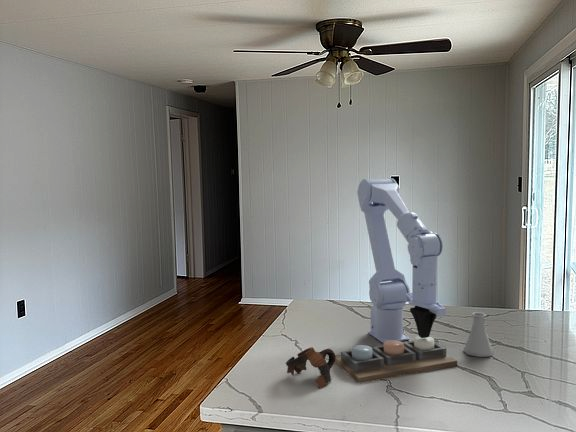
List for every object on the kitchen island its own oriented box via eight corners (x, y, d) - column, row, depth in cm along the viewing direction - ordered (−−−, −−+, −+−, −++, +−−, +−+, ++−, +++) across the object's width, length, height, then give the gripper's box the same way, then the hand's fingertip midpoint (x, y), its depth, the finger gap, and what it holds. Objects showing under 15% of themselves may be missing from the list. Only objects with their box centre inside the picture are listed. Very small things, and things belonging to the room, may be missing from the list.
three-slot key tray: (332, 360, 128) (332, 347, 128) (423, 345, 137) (423, 334, 136) (358, 383, 115) (358, 369, 115) (457, 365, 124) (457, 352, 123)
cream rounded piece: (410, 349, 130) (410, 337, 130) (426, 346, 132) (427, 334, 131) (421, 356, 126) (421, 343, 125) (438, 353, 127) (438, 340, 127)
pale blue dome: (348, 359, 125) (348, 346, 124) (366, 356, 126) (366, 343, 126) (357, 367, 120) (357, 353, 120) (376, 363, 122) (375, 350, 121)
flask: (495, 358, 127) (496, 319, 126) (464, 357, 129) (465, 317, 128) (490, 348, 134) (491, 310, 133) (461, 346, 136) (462, 309, 135)
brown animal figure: (312, 396, 111) (293, 361, 112) (292, 399, 118) (275, 366, 119) (351, 368, 117) (333, 335, 118) (330, 372, 125) (313, 342, 126)
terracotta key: (380, 354, 127) (380, 341, 127) (397, 351, 129) (397, 339, 128) (390, 361, 123) (390, 348, 122) (407, 358, 124) (407, 345, 124)
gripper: (394, 277, 132) (394, 329, 134) (427, 291, 118) (426, 349, 120) (418, 275, 134) (418, 326, 136) (453, 288, 121) (452, 345, 122)
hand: (424, 336), depth 128 cm, fingers closed
